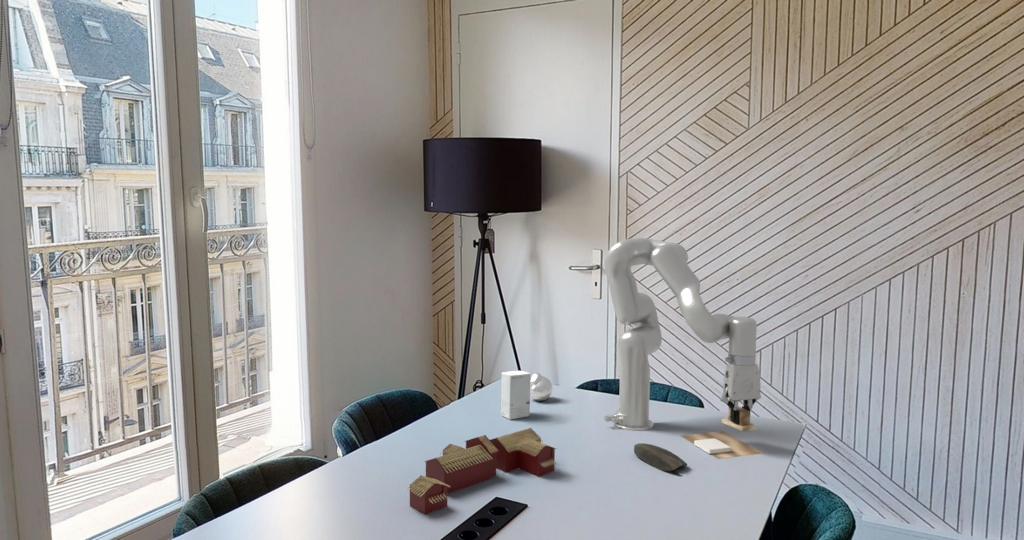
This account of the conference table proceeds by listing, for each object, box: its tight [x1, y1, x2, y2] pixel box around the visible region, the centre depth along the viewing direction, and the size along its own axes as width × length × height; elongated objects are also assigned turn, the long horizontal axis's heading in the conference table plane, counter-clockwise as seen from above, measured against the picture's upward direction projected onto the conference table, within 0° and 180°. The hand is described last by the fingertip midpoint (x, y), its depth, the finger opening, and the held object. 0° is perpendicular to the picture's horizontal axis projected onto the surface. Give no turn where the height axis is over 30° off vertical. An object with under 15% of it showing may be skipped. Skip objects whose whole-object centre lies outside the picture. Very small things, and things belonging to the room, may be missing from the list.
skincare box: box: [500, 370, 531, 421], centre depth 237 cm, size 8×6×15 cm
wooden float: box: [721, 406, 758, 432], centre depth 208 cm, size 5×10×5 cm, turn 18°
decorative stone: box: [633, 442, 688, 472], centre depth 196 cm, size 17×6×4 cm, turn 35°
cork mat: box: [680, 430, 763, 460], centre depth 210 cm, size 15×20×1 cm
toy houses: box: [406, 427, 557, 515], centre depth 183 cm, size 45×20×10 cm, turn 132°
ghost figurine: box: [530, 372, 554, 402], centre depth 256 cm, size 9×9×10 cm
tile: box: [693, 438, 731, 455], centre depth 206 cm, size 7×1×8 cm
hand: (740, 421), depth 208 cm, fingers closed on wooden float, 3 cm apart
